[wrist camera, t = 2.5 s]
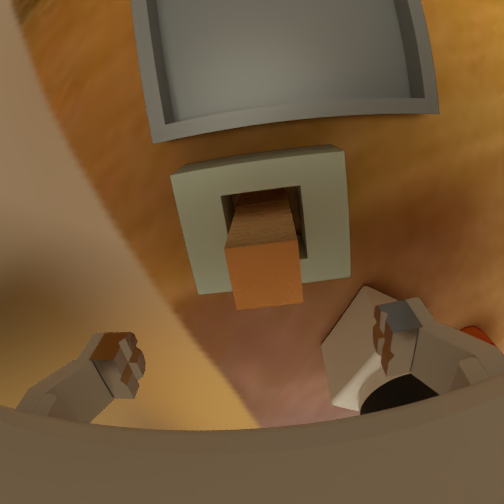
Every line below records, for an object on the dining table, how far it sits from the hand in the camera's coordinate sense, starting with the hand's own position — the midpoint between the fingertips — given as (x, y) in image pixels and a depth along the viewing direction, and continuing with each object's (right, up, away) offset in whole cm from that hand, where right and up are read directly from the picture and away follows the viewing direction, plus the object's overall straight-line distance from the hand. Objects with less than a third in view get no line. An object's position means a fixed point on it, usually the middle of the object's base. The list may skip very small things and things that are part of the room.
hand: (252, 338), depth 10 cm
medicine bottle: (+11, -4, +17) cm, 20 cm away
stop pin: (+1, +6, +13) cm, 14 cm away
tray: (+2, +18, +7) cm, 19 cm away
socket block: (+1, +6, +12) cm, 14 cm away
